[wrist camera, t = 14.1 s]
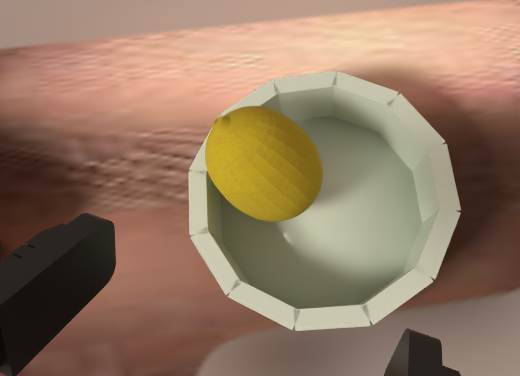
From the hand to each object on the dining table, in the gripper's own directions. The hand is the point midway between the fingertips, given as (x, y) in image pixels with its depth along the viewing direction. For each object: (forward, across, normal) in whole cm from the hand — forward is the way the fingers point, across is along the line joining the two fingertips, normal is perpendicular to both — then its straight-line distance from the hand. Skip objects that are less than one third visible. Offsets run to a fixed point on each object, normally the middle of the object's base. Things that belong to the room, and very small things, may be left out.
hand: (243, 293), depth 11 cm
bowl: (+15, 0, +6) cm, 16 cm away
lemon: (+14, 0, +5) cm, 15 cm away
